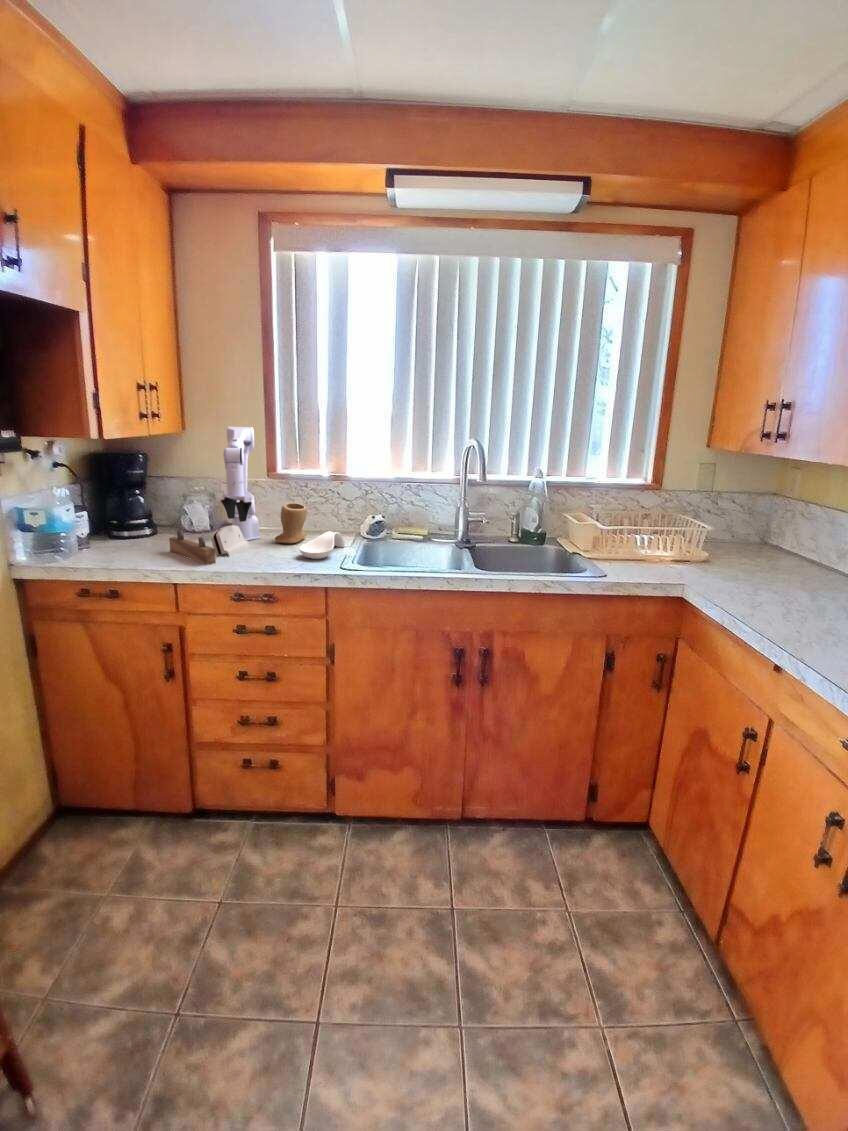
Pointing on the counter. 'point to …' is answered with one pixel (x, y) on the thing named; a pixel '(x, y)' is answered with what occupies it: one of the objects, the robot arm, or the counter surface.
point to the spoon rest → (322, 545)
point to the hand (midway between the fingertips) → (237, 519)
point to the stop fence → (192, 549)
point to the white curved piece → (228, 540)
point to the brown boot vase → (292, 523)
